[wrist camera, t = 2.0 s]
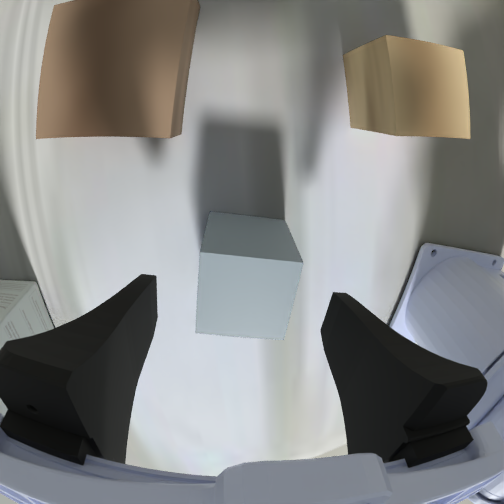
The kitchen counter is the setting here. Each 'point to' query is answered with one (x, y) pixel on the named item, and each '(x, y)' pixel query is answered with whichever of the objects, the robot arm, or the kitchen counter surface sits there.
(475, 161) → the kitchen counter surface
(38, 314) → the supplement box
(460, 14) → the kitchen counter surface
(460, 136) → the oak block
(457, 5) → the kitchen counter surface
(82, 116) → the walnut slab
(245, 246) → the slate block
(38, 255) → the kitchen counter surface
